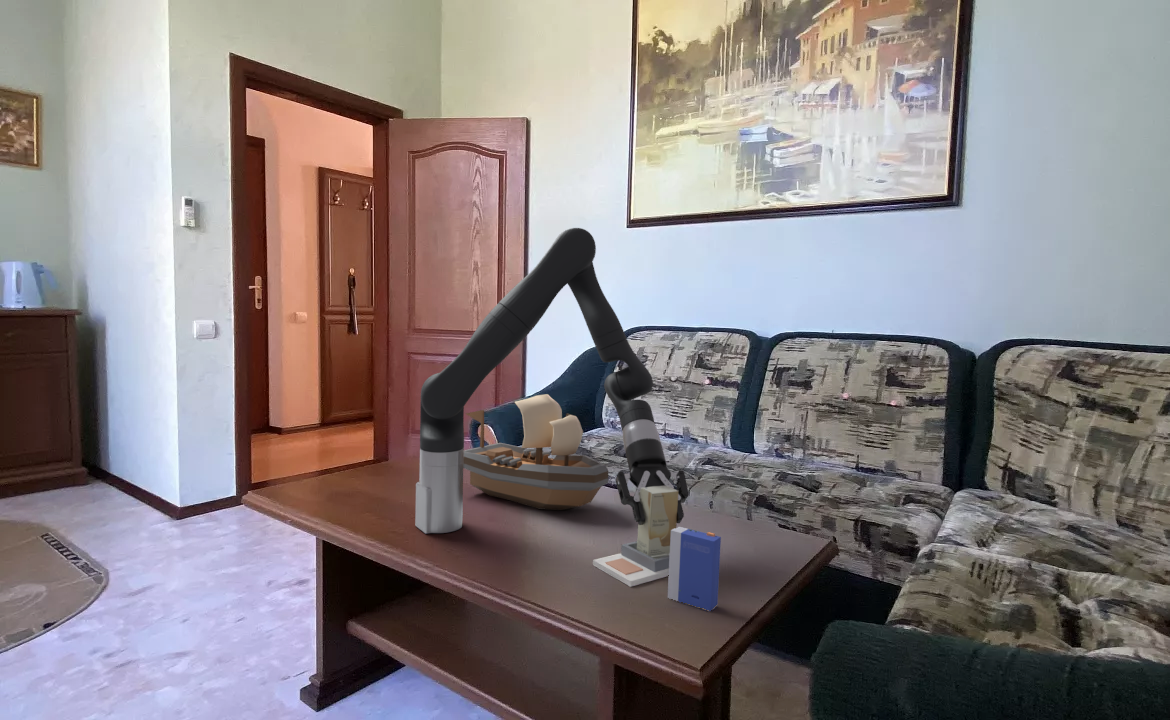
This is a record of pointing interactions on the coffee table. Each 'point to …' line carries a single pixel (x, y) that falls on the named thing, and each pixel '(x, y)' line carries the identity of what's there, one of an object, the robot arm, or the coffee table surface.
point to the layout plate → (634, 565)
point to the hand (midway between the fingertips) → (660, 522)
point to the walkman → (694, 567)
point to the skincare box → (657, 519)
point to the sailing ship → (537, 461)
